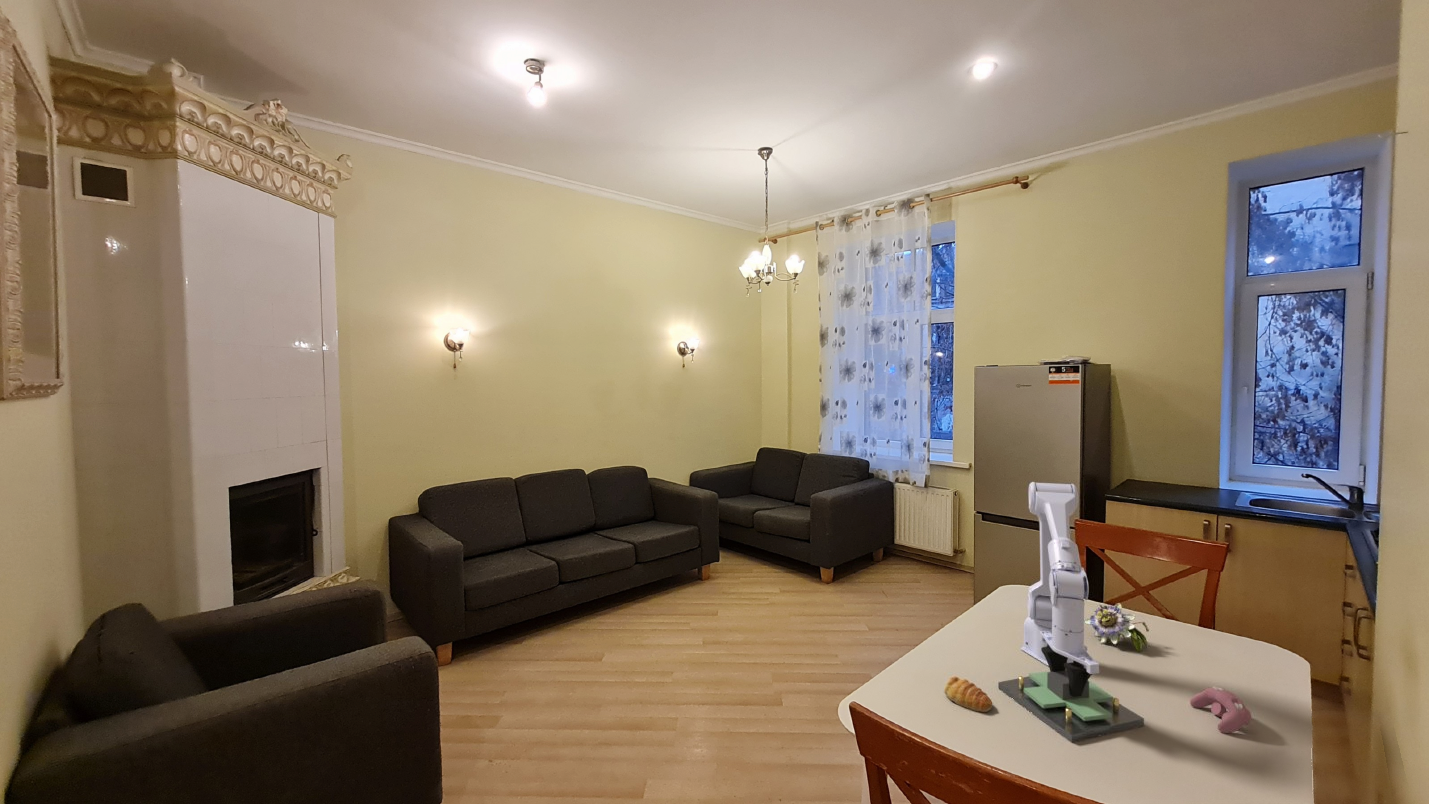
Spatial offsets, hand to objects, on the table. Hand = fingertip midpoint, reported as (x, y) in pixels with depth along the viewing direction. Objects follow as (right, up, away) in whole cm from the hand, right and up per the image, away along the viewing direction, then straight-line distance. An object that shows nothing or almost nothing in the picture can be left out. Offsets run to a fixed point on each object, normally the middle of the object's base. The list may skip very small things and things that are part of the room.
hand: (1067, 688), depth 118 cm
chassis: (0, -4, 0) cm, 4 cm away
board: (0, -2, 0) cm, 2 cm away
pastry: (-20, -5, +4) cm, 21 cm away
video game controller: (+28, -4, -5) cm, 28 cm away
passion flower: (+30, -2, +27) cm, 41 cm away
